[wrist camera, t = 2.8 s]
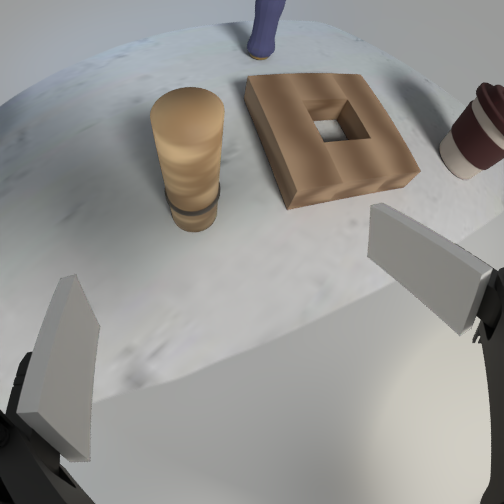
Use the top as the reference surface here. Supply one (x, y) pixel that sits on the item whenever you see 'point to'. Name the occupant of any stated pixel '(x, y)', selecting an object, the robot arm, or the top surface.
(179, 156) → the oak peg
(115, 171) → the top surface
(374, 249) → the robot arm
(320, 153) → the walnut socket block
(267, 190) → the top surface
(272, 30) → the rubber mallet
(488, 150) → the coffee cup
